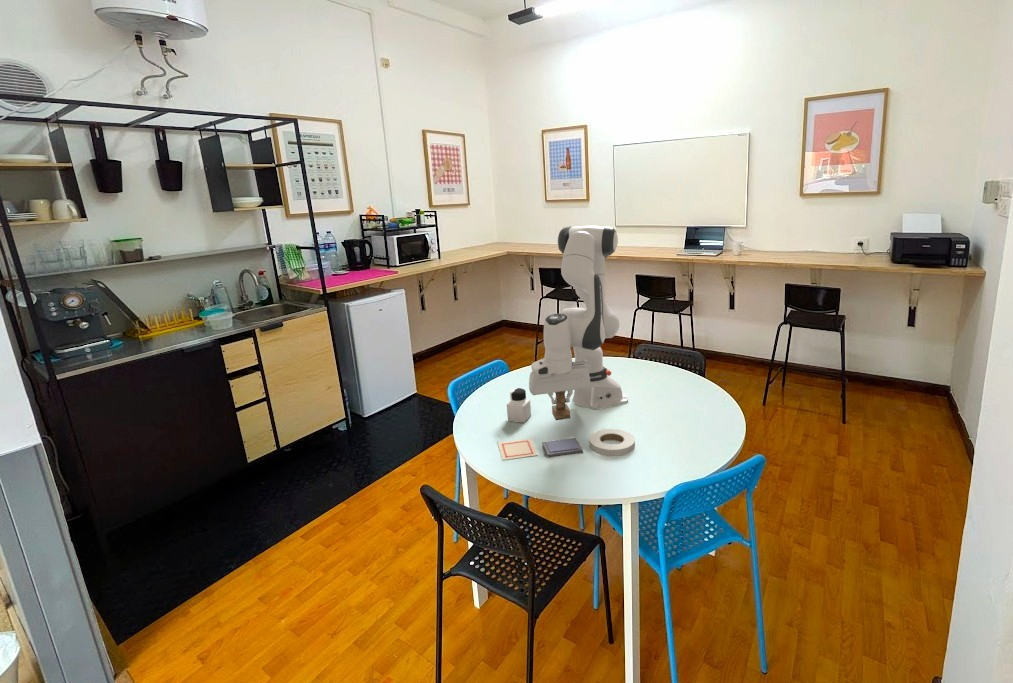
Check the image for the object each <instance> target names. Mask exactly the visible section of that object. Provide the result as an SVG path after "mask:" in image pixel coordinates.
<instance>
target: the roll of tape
mask: <svg viewBox="0 0 1013 683" xmlns="http://www.w3.org/2000/svg"><path fill="white" fill-rule="evenodd" d="M588 441H589V442H588V443H589V445H588V446H589V449H590V450H591V451H592V452H594V453H595V454H598V455H600V456H603V457H609V458H612V457H613V458H616V457H617V458H618V457H623V456H627V455H629V454H631V453H632V452H634V450H635V448H636V438H635V436H634V435H633V434H631V433H630V432H629V431H626V430H622V429H620V428H619V429H618V428H602V429H599V430H597V431H594V432H592V433H591V434H590V436H589V438H588ZM606 441H616V442H619V443H616V444H614V443H613V444H611V443H610V444H609V443H606Z"/></svg>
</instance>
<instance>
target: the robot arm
mask: <svg viewBox="0 0 1013 683" xmlns="http://www.w3.org/2000/svg"><path fill="white" fill-rule="evenodd" d="M618 243H619V238H618V234H617V230H616V229H615V228H614V227H612V226H607V225H605V226H601V225H590V224H589V225H581V226H580V225H577V226H565V227H562V229H560V231H559V233H558V236H557V246H558V250H559V251H560V252H561V253H562V260H561V265H560V271H561V273H560V275H561V276H562V278H563V280H564V281H565V283H567V284H568V285H569V286H571V287H573V288H575V294H576V295H577V296H578V298H580V299H581V300H582V301H583V302H584V304H585V307H584V308H583V307H576V306H575V307H566V308H564V309H562V311H561V312H560V313H552V314H550V315H548V316H546V317H545V319H544V323H543V346H544V349H545V351H544V357H543V358H541V359H538V360H537V361H534V362H532V363H531V365H530V366H531V371H530V373H529V379H528V389H529V392H530V394H531V395H532V396H537V395H538V396H539V395H546V394H547V395H548V396H549V398H550V399H551V404H552V405H556V404H557V399H556V396H554V393H555V392H560V391H566V392H567V394H566V395H565V404H567V403H570V402H571V400H570V399H571V397H572V402H573V404H574V405H576V406H579V407H583V408H587V409H592V410H600V409H605V408H609V407H613V406H618V405H623V404H627V403H629V398H628V395H627V394H626V393H625V392H624V391H623V390H622V387H621V385H620V383H619V382H618V381H617V380H615V379H614V378H612V377H611V375H612V371H611V370H610V369H608V368H607V367H606V366H604V363H603V362H604V360H603V359H604V358H603V357H604V356H603V354H604V353H603V349H602V347H601V346H602V345H603V344H604V343H605V339H612V338H614V337H615V336H616V335H617V333H618V332H619V329H620V320H619V317H618V316H617V314H616V313H615V312H614V311H613V310H612V309H611V308H610V306H609V304H608V301H607V298H606V293H605V290H606V289H605V283H606V282H605V278H606V277H605V276H606V275H605V274H606V262H605V261H606V259H608V257H610V256H612V255H613V254H614V253H615V252H616V249H617V248H618ZM571 348H573V353H574V361H573V353H572V350H571ZM572 395H573V396H572ZM553 396H554V397H553Z"/></svg>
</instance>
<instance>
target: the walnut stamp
mask: <svg viewBox="0 0 1013 683" xmlns="http://www.w3.org/2000/svg"><path fill="white" fill-rule="evenodd" d="M566 392H567V391H560V392H555V394H554V395H555V397H556V399H557V404H554V405H552V406H551V410H552V411H551V414H552V416H553V418H554V419H555V421H561V420H569V419H571V409H570V407H569V406H568V404H567V403H565V396H566Z"/></svg>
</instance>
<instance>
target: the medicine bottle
mask: <svg viewBox="0 0 1013 683" xmlns="http://www.w3.org/2000/svg"><path fill="white" fill-rule="evenodd" d="M526 395H527V393H526V389H524V388H522V387H521V388H520V387H516V388H513V389H511V390H510V391H509V396H510V401H508V402H507V403H506V411H507V412H506V413H507V414H506V415H507V421H509V422H516V423H522V424H524V423H526V421H527V420H529V418H530V417H531V416H532V406H531V405H532V404H531V399H529V398H527V396H526Z"/></svg>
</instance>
